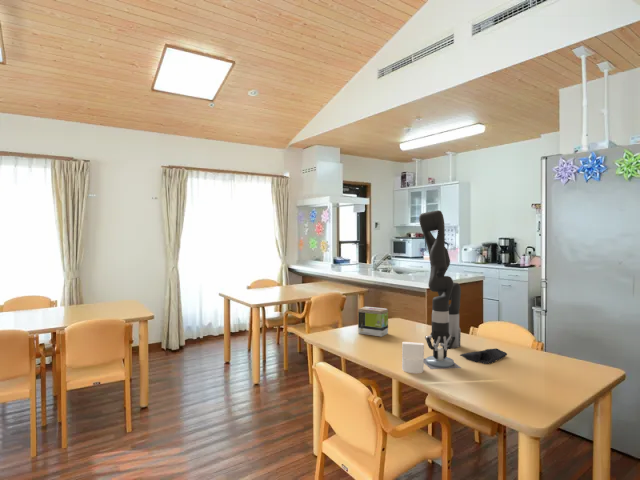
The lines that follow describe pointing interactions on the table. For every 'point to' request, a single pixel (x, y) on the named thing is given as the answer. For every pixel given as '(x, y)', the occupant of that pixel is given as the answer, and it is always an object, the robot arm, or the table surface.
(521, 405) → the table surface
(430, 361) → the lid
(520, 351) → the table surface
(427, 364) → the mat
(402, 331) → the table surface
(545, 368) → the table surface
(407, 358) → the white cylinder
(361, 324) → the tea box
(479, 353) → the dark slate chunk
